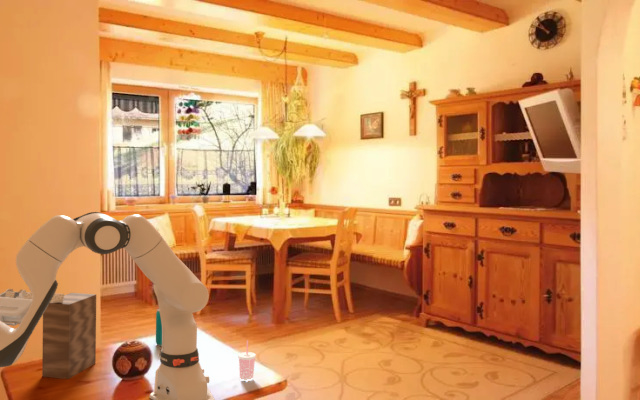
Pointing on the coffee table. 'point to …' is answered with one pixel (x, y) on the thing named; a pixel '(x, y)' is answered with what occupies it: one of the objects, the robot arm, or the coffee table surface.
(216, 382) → the coffee table surface
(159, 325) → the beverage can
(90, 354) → the wavy grain block
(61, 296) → the wooden bar
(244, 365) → the beverage cup
